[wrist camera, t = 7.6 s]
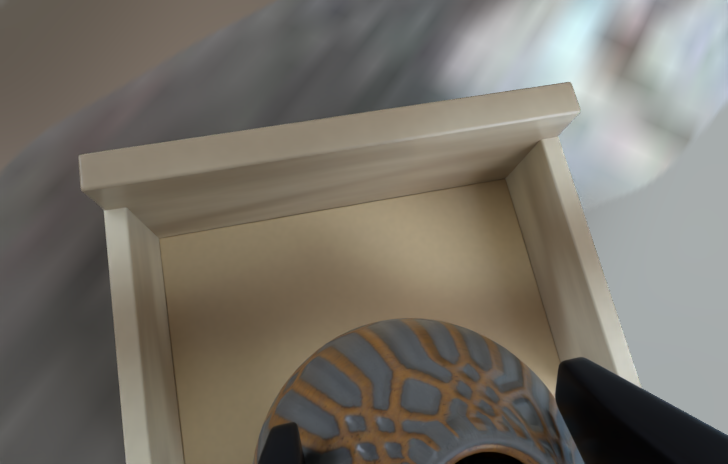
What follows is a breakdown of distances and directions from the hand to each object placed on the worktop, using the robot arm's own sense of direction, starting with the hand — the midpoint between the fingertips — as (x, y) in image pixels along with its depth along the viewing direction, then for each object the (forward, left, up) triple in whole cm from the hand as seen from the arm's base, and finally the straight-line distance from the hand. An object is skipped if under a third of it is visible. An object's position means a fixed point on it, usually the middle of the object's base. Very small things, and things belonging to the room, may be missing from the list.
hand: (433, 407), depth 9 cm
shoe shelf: (+3, -2, -8) cm, 9 cm away
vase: (-1, +1, -7) cm, 7 cm away
